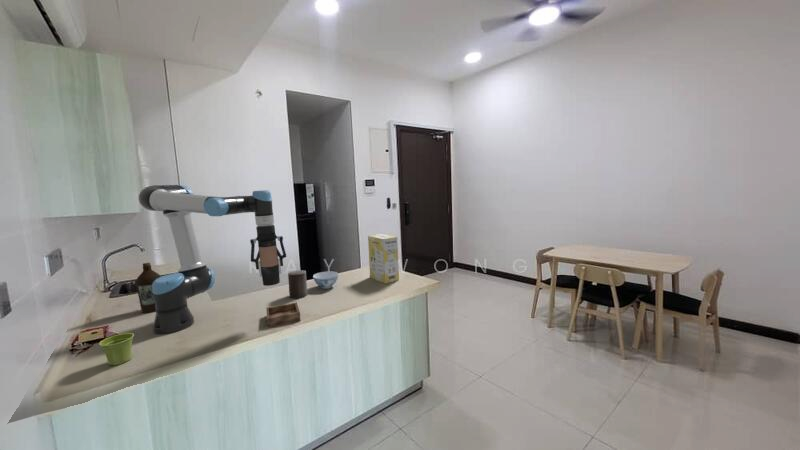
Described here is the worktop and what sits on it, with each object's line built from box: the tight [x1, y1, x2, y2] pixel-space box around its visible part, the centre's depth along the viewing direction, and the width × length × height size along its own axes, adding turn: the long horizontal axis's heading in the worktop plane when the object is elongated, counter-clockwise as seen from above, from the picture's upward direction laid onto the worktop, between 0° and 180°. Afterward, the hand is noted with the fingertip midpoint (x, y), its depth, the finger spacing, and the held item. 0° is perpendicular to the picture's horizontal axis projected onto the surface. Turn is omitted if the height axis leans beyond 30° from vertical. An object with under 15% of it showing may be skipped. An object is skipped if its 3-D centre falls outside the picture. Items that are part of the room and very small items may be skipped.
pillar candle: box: [287, 269, 308, 300], centre depth 176 cm, size 10×10×15 cm
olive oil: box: [135, 262, 162, 314], centre depth 163 cm, size 11×11×25 cm
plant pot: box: [98, 332, 135, 366], centre depth 114 cm, size 9×9×9 cm
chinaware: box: [312, 270, 339, 290], centre depth 190 cm, size 15×15×8 cm
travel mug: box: [257, 239, 281, 287], centre depth 141 cm, size 8×8×20 cm
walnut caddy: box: [266, 302, 301, 328], centre depth 147 cm, size 14×14×4 cm
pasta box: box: [367, 233, 400, 285], centre depth 201 cm, size 18×10×28 cm, turn 37°
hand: (270, 274), depth 142 cm, fingers closed on travel mug, 8 cm apart
